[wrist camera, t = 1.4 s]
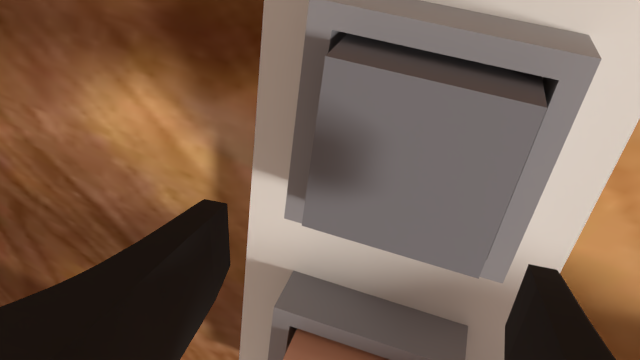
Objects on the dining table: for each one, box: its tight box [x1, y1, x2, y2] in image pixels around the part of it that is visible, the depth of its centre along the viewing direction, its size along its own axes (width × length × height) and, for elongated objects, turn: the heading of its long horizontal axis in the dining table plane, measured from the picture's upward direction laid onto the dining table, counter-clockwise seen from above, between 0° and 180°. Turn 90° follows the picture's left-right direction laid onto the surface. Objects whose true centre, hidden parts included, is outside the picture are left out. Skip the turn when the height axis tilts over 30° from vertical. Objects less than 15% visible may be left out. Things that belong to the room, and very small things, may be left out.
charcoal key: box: [302, 33, 547, 279], centre depth 17 cm, size 6×6×3 cm
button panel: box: [239, 0, 640, 360], centre depth 22 cm, size 13×24×4 cm, turn 173°
